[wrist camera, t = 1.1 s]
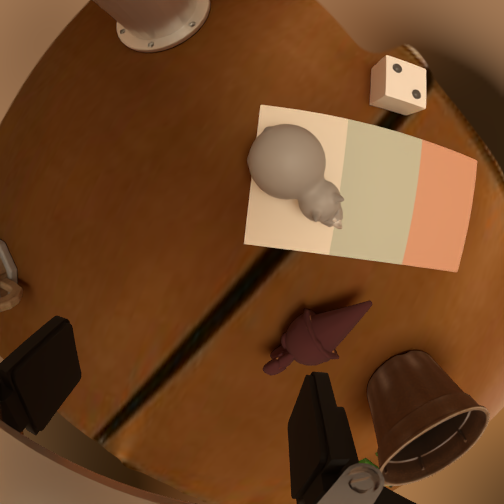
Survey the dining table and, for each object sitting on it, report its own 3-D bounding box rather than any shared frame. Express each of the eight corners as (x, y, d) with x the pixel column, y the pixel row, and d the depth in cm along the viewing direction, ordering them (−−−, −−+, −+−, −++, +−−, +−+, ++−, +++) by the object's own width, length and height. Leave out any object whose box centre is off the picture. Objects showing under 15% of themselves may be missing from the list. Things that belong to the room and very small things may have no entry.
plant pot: (404, 418, 41) (432, 483, 25) (334, 407, 40) (352, 488, 25) (457, 349, 37) (507, 409, 21) (390, 326, 36) (442, 403, 20)
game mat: (260, 105, 29) (260, 104, 29) (476, 160, 29) (477, 160, 29) (243, 243, 34) (243, 243, 33) (456, 271, 33) (457, 272, 33)
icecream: (357, 282, 28) (242, 352, 32) (391, 338, 27) (278, 399, 31) (353, 270, 34) (257, 331, 38) (382, 317, 34) (287, 371, 38)
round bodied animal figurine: (304, 240, 33) (316, 263, 25) (237, 158, 31) (227, 153, 23) (353, 202, 32) (380, 213, 23) (287, 118, 29) (295, 100, 21)
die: (371, 68, 27) (386, 54, 22) (407, 80, 27) (426, 69, 22) (369, 104, 28) (385, 94, 24) (406, 115, 28) (426, 108, 23)
